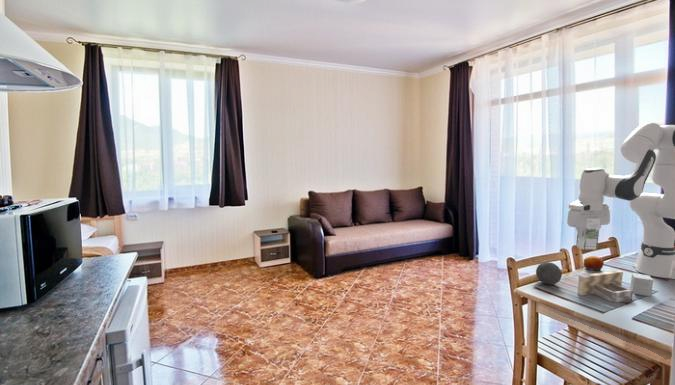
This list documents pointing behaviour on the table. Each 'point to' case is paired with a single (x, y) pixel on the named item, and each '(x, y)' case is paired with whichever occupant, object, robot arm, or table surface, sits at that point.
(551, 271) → the decorative ball
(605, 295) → the wooden table
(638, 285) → the product box
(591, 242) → the syrup box
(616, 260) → the table surface
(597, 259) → the fruit
